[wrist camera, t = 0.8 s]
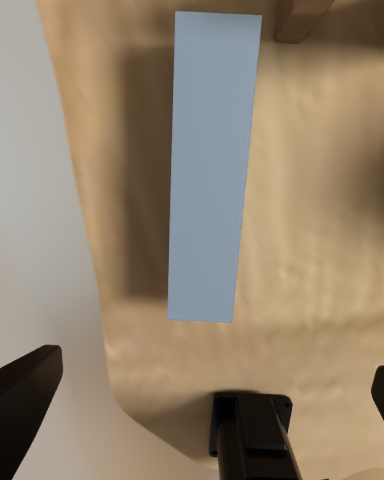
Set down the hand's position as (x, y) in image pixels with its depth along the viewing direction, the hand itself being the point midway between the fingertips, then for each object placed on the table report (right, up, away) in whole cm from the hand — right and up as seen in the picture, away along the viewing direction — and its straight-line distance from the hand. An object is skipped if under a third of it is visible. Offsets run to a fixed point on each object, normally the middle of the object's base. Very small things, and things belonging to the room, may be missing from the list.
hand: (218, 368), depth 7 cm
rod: (0, +7, +11) cm, 13 cm away
